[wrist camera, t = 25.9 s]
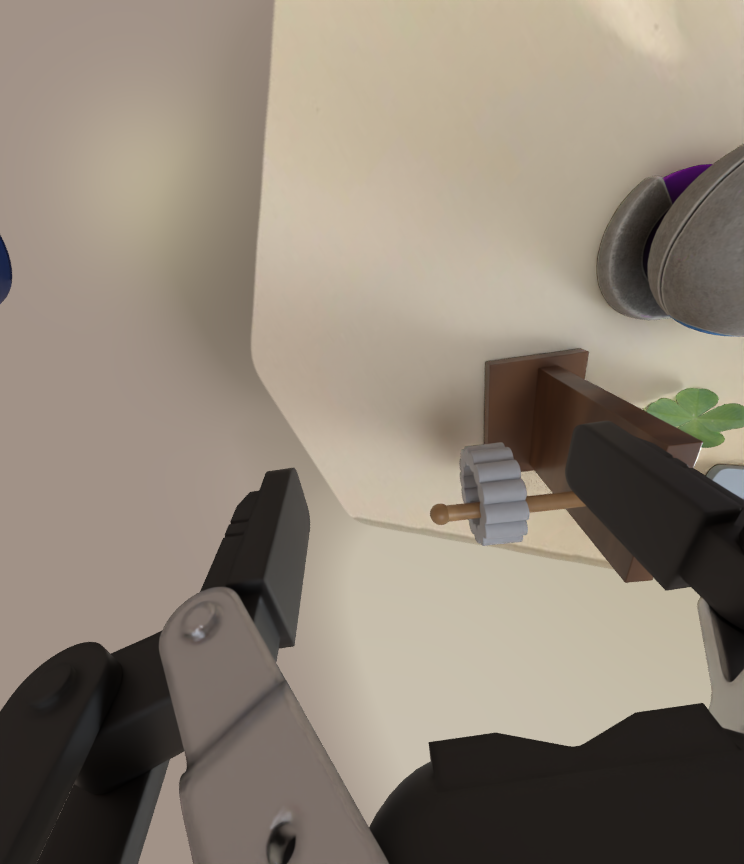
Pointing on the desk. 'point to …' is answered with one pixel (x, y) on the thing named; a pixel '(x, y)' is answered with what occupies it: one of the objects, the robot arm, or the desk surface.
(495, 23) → the desk surface
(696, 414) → the seedling
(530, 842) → the robot arm
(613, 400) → the rack
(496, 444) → the grey scalloped ring
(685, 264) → the webcam
